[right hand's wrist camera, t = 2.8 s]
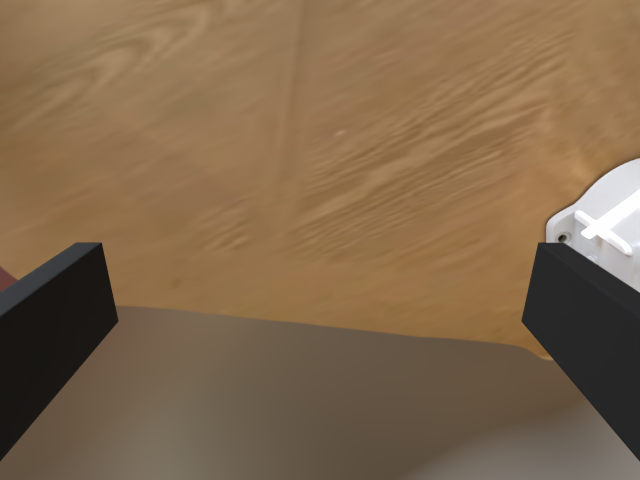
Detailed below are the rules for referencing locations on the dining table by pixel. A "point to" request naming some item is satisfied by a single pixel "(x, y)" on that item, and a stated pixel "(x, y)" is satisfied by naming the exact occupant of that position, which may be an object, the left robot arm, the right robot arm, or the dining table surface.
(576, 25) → the dining table surface
